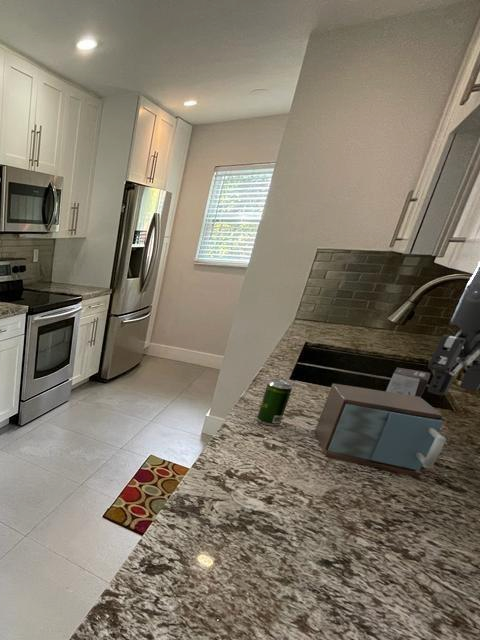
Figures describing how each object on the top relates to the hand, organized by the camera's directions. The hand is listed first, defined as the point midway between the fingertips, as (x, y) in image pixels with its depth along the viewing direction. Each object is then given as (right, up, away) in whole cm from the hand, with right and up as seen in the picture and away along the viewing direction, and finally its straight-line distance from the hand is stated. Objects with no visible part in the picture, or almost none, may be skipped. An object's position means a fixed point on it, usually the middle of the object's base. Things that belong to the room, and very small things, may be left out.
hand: (452, 391), depth 72 cm
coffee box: (+28, -11, +38) cm, 48 cm away
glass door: (+7, -17, +16) cm, 25 cm away
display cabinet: (+9, -15, +26) cm, 32 cm away
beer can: (-3, -9, +40) cm, 41 cm away
